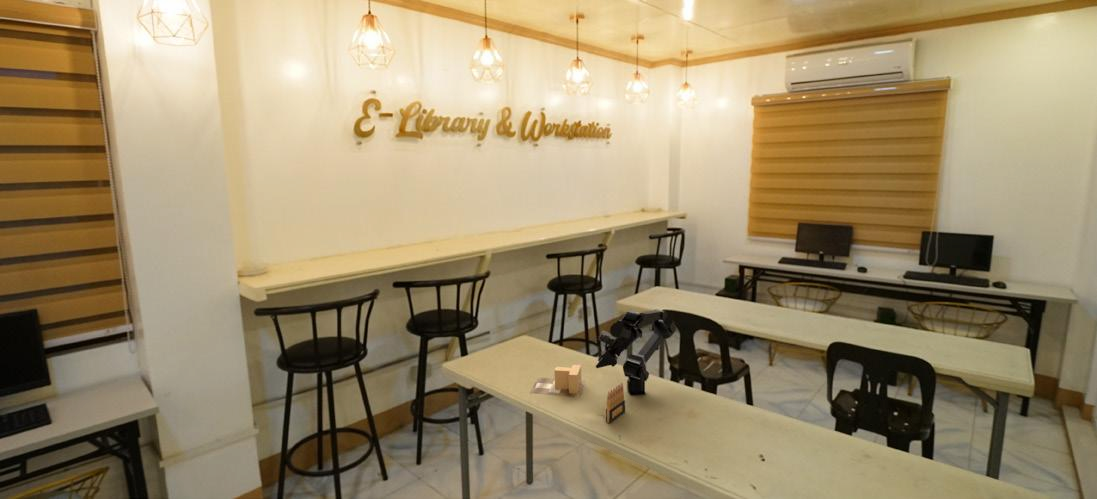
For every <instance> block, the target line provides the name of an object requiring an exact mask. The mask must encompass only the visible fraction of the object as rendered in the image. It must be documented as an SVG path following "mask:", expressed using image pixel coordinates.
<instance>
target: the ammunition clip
mask: <svg viewBox="0 0 1097 499" xmlns="http://www.w3.org/2000/svg"><path fill="white" fill-rule="evenodd" d="M606 396H607V398H606V409H605V423H607V424H612V423H613V422H614V421H616V420H617V419H618V418H620V417H621V416H623V414H625V413H626V400H625V392H624V385H623V382H621V383H620V384H618V386H615V387H613V389H610V391H608V392H607V395H606Z"/></svg>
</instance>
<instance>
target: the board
mask: <svg viewBox="0 0 1097 499" xmlns="http://www.w3.org/2000/svg"><path fill="white" fill-rule="evenodd" d="M586 382H587V381H586V380H581V386H580V388H579V391H578V394H574V393H569V389H556V388H555V378H552V377H551V378H549V377H537V379H536V381H535V383H534V384H533V386H532V388H531V389H530V391H529V394H537V395H538V394H539V395H552V396H563V397H565V396H566V397H573V398H574V397H575V398H576V397H577V398H580V397H581V396H582V393H583V392H584V388H585V386H586Z"/></svg>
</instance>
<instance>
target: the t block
mask: <svg viewBox="0 0 1097 499" xmlns="http://www.w3.org/2000/svg"><path fill="white" fill-rule="evenodd" d="M554 379H555V388H556V389H569V393H574V394H578V391H579V388H580V386H581V381H582V365H581V364H572V366H571V367H564V366H563V367H562V366H555V369H554Z"/></svg>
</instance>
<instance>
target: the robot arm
mask: <svg viewBox="0 0 1097 499" xmlns="http://www.w3.org/2000/svg"><path fill="white" fill-rule="evenodd" d="M650 322H652V325H653V333H652V334H651V335H650V337H649V338H648V340H647V341H646V342H645V343H644V345H643V346H642V347H641V348H640V350H639V351H638V352H637V354H633V353H631V354H629V356H628V357H627V358H626V359H625V361H624V363H623V365H622V370H623V374H624V377H626V378H627V379H626V390H627V392H628V393H629V395H630V396H637V395H641V396H642V395H646V394H647V392H646V382H647V381H648V379H649V376H650V372H648V370H647V363H648V361H649V360H650V359H651V357H652V356H653V355H654V353H655V352H656V351H657V349H658V348H659V347H660V345H661V344H662V342H663V341H665V340H668V339H669V338H672V336H673V335H674V334H675V333H676V331H677V325H676V323H675V321H674V319H672V318H671V316H669V315H668V313H667V311H665V310H663V309H657V308H656V309H653V310H647V311H636V310H631V309H629V310H627V311H626V313H625V314H624V315H623V316H622V317H621V319H617V320H616V322H614V323H613V324H611V326H610V328H609V332H608V331H606V330H604V329H603V330H601V331H600V334H599V336H598V341H599V342H601V343H604V344H605V345H604V350H603V351H602V353H601V354H600V356H599V357H598V358H597V361H598V363H596V365H595V368H596V369H601V368H604V367H609V366H611V367H612V368H613V367H615V366H616V365H617V364H618V357H620V356H621V354H622V353H623V352H624V351H627V350H628V349H629V346H631V345H632V344H633V343H634V342H635V341H636V340H638V339H639V338H643V331H642V329H641V327H644V326H645V325H646V324H647V323H650Z"/></svg>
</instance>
